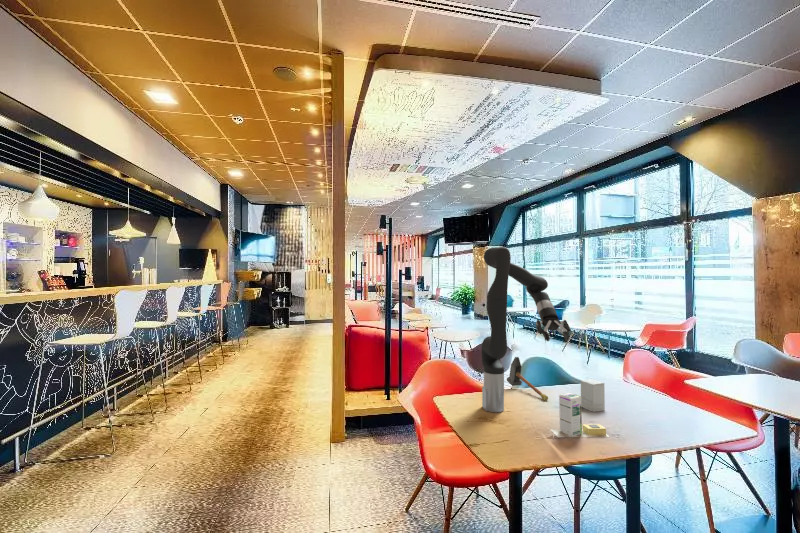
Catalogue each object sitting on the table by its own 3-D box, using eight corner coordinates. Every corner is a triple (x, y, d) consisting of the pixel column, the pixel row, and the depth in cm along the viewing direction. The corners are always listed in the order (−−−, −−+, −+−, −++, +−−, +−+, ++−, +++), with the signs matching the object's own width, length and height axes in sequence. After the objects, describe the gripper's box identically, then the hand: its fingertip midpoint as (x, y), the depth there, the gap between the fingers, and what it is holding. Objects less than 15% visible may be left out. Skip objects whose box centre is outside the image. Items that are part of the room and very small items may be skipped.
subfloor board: (562, 445, 134) (562, 441, 134) (545, 428, 148) (545, 425, 148) (615, 444, 135) (615, 440, 135) (594, 428, 149) (594, 425, 149)
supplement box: (605, 410, 169) (605, 382, 169) (593, 412, 167) (592, 384, 167) (592, 404, 176) (592, 378, 176) (580, 406, 174) (580, 379, 174)
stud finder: (588, 435, 140) (588, 428, 140) (582, 430, 144) (582, 423, 144) (606, 434, 140) (606, 428, 140) (600, 430, 144) (600, 423, 144)
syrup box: (572, 437, 138) (572, 398, 138) (558, 431, 143) (558, 393, 143) (582, 434, 140) (582, 396, 141) (568, 428, 146) (568, 391, 146)
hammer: (543, 382, 179) (509, 355, 207) (538, 411, 182) (506, 381, 210) (553, 381, 181) (519, 355, 209) (549, 410, 184) (515, 380, 212)
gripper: (534, 306, 171) (544, 335, 159) (564, 306, 171) (576, 335, 160) (529, 316, 176) (539, 345, 164) (558, 316, 176) (570, 345, 165)
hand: (557, 340), depth 162 cm, fingers open, 8 cm apart
